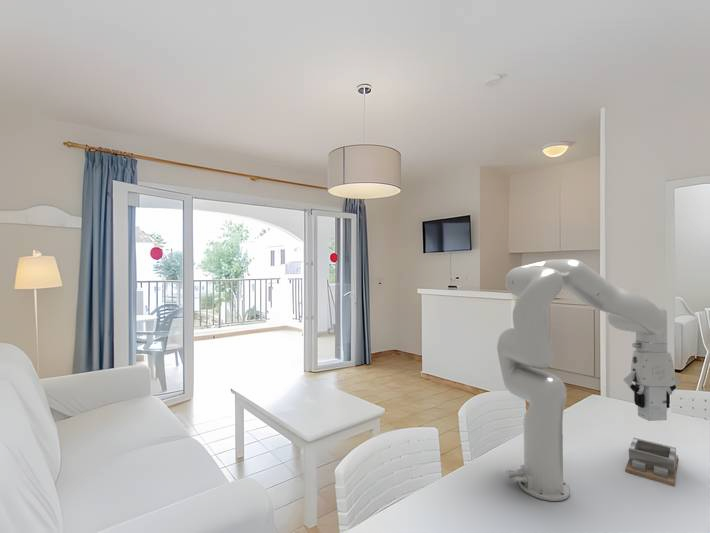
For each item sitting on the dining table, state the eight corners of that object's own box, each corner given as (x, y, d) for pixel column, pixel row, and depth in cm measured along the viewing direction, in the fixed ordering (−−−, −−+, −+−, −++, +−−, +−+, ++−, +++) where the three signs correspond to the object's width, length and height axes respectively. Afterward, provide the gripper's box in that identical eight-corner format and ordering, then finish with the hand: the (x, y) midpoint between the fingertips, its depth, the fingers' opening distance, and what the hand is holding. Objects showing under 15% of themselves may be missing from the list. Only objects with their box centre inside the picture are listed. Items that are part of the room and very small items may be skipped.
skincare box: (649, 421, 111) (649, 380, 111) (636, 415, 116) (636, 376, 116) (668, 420, 112) (667, 379, 112) (654, 414, 117) (653, 375, 117)
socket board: (674, 486, 103) (674, 468, 103) (625, 471, 110) (625, 454, 110) (678, 458, 118) (678, 442, 118) (634, 447, 125) (634, 432, 125)
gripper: (630, 349, 111) (630, 410, 111) (691, 349, 110) (692, 411, 110) (613, 344, 118) (614, 401, 118) (671, 344, 117) (671, 402, 117)
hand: (652, 405), depth 114 cm, fingers closed on skincare box, 6 cm apart
